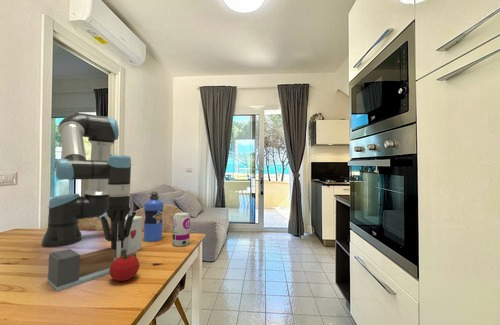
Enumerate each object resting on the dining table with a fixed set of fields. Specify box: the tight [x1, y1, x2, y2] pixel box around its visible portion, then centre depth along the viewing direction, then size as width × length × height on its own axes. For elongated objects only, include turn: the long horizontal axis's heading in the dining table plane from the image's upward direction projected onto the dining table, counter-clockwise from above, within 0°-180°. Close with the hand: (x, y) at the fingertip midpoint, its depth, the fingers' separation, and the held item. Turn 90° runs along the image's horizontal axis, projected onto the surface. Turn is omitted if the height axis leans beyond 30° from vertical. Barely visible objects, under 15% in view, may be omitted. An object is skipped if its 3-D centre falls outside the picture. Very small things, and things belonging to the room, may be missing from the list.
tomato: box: [109, 254, 140, 282], centre depth 76 cm, size 9×9×8 cm
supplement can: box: [171, 211, 191, 247], centre depth 112 cm, size 8×8×15 cm
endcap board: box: [46, 248, 137, 292], centre depth 80 cm, size 10×24×9 cm, turn 145°
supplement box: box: [117, 215, 143, 255], centre depth 101 cm, size 9×9×15 cm
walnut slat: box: [79, 247, 115, 277], centre depth 78 cm, size 4×14×6 cm, turn 146°
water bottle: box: [142, 191, 164, 243], centre depth 119 cm, size 9×9×25 cm
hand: (116, 257), depth 85 cm, fingers closed
